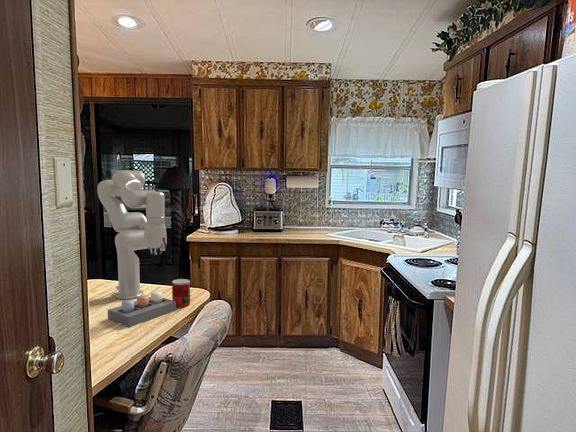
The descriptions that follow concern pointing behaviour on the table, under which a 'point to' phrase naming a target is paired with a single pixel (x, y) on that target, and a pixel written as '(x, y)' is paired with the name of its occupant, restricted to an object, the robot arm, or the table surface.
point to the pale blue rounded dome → (127, 306)
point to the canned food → (181, 292)
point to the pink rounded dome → (142, 301)
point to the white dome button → (156, 297)
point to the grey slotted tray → (141, 312)
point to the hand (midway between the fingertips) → (156, 263)
